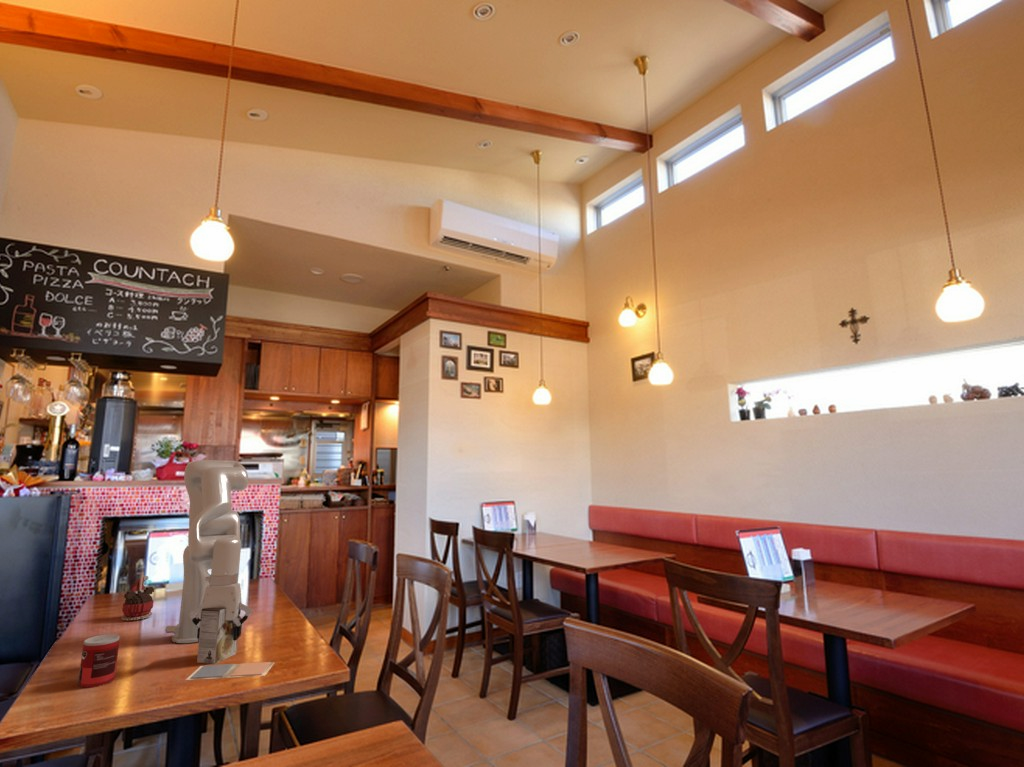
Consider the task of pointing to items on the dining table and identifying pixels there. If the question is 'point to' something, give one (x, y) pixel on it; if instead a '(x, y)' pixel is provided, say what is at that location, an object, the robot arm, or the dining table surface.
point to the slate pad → (212, 671)
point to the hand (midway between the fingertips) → (218, 640)
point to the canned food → (98, 660)
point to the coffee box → (215, 636)
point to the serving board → (232, 672)
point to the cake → (138, 600)
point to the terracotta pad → (250, 669)
